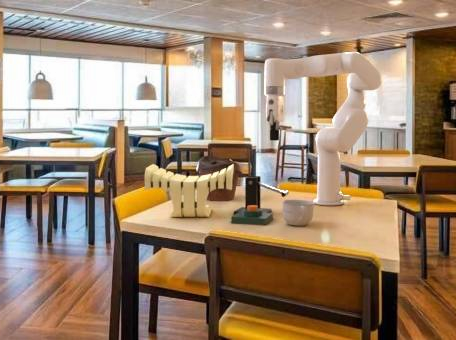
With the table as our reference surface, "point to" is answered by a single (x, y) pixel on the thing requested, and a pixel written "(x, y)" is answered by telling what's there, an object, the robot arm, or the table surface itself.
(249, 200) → the bracket
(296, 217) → the teacup
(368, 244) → the table surface
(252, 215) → the button block
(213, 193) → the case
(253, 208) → the button
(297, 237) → the table surface
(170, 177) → the slatted curved stool
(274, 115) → the robot arm
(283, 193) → the lever
